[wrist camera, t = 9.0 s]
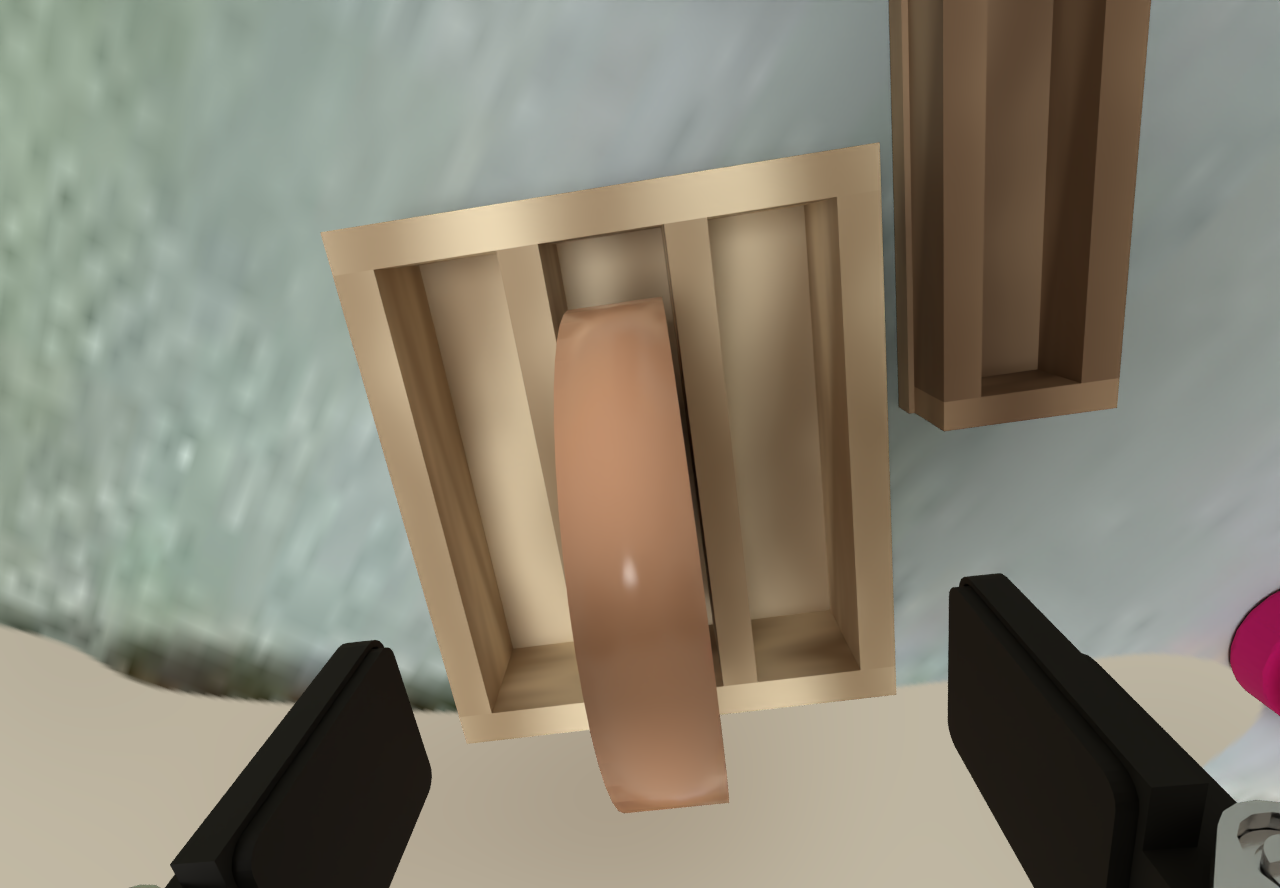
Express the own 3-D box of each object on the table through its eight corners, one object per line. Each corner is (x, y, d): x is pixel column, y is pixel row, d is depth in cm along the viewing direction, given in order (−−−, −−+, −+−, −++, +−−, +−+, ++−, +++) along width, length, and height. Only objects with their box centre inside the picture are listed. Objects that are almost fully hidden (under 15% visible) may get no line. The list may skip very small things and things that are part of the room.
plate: (655, 265, 21) (679, 380, 9) (696, 587, 26) (746, 937, 14) (584, 276, 21) (514, 402, 9) (638, 594, 26) (639, 947, 14)
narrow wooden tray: (1086, -127, 19) (1176, -203, 16) (1058, 384, 24) (1123, 406, 21) (886, -91, 19) (934, -158, 16) (899, 406, 24) (937, 432, 21)
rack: (834, 163, 22) (887, 140, 17) (856, 614, 27) (901, 693, 22) (384, 235, 22) (314, 233, 18) (493, 658, 28) (461, 744, 23)
